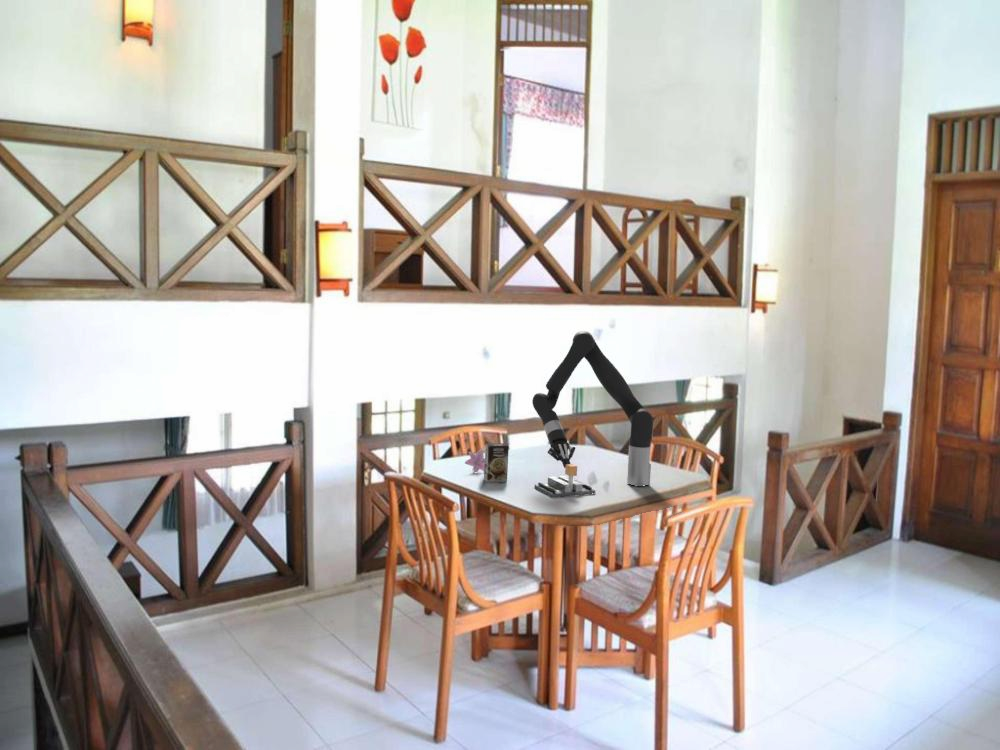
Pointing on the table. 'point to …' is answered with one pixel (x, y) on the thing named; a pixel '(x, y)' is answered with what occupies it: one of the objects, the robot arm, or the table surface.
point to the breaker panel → (559, 494)
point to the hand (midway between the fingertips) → (568, 467)
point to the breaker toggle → (571, 472)
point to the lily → (476, 461)
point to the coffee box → (496, 462)
